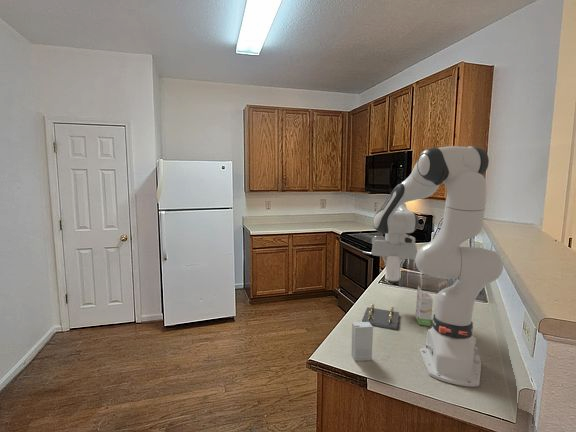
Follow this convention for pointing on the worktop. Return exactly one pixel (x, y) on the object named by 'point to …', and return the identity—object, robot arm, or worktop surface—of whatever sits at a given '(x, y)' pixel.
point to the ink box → (423, 308)
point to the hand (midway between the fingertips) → (393, 266)
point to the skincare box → (362, 341)
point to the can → (392, 268)
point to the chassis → (381, 317)
